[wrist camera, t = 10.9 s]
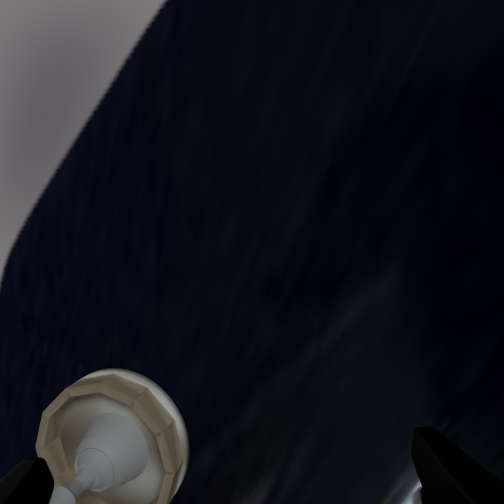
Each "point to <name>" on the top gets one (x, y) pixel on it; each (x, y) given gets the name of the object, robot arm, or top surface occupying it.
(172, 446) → the rimmed bowl
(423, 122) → the top surface
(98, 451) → the chalice
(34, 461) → the robot arm
